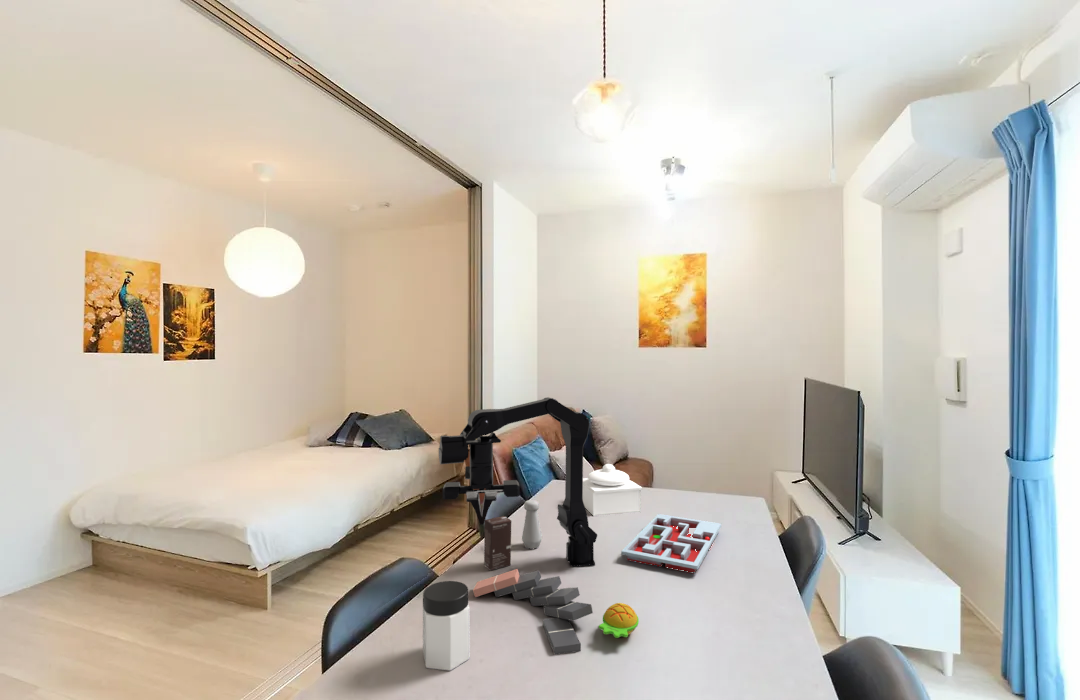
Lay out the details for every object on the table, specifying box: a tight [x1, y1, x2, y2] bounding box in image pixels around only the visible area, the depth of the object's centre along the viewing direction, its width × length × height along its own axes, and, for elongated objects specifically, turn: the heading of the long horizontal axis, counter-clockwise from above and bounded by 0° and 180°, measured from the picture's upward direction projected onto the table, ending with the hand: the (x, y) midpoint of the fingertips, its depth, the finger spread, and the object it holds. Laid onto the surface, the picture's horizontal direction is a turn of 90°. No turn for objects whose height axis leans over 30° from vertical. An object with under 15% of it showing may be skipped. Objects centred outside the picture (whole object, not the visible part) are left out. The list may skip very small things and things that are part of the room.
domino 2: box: [493, 570, 542, 598], centre depth 113 cm, size 2×5×10 cm
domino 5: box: [542, 600, 594, 622], centre depth 102 cm, size 2×5×10 cm
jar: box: [422, 580, 471, 671], centre depth 90 cm, size 9×8×12 cm
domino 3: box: [511, 575, 562, 601], centre depth 111 cm, size 2×5×10 cm
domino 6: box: [542, 617, 582, 655], centre depth 96 cm, size 2×5×10 cm
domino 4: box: [529, 587, 581, 607], centre depth 107 cm, size 2×5×10 cm
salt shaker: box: [521, 499, 543, 550], centre depth 142 cm, size 6×6×13 cm
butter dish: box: [583, 463, 643, 517], centre depth 178 cm, size 18×18×16 cm
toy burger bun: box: [598, 602, 640, 639], centre depth 96 cm, size 7×10×5 cm
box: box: [483, 515, 512, 571], centre depth 129 cm, size 6×4×12 cm
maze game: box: [621, 513, 722, 573], centre depth 141 cm, size 35×20×3 cm, turn 151°
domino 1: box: [472, 568, 520, 598], centre depth 113 cm, size 2×5×10 cm
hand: (481, 524), depth 122 cm, fingers closed
